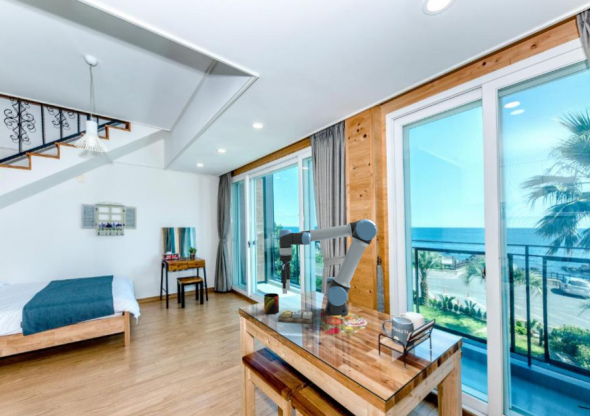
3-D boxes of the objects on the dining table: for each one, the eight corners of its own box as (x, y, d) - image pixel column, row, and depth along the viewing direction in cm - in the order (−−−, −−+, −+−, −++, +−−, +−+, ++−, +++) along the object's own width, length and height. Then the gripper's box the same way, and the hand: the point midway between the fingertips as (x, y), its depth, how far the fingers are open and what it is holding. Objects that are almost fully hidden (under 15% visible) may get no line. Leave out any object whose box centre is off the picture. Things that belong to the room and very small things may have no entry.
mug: (273, 308, 183) (273, 290, 184) (281, 314, 171) (281, 296, 171) (260, 310, 179) (260, 292, 179) (267, 317, 167) (266, 298, 167)
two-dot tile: (301, 317, 163) (301, 311, 163) (300, 320, 158) (300, 313, 158) (293, 316, 164) (293, 310, 164) (292, 319, 159) (292, 313, 159)
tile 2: (312, 317, 162) (312, 311, 162) (311, 320, 157) (310, 314, 157) (304, 317, 163) (304, 311, 163) (302, 320, 158) (302, 314, 158)
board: (314, 317, 166) (314, 312, 166) (311, 326, 152) (311, 321, 152) (284, 315, 170) (283, 311, 170) (278, 323, 156) (278, 319, 156)
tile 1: (291, 316, 164) (291, 310, 164) (289, 319, 159) (289, 313, 159) (283, 316, 165) (283, 310, 165) (281, 319, 160) (281, 312, 160)
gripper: (283, 252, 174) (284, 287, 173) (275, 256, 155) (276, 296, 154) (294, 252, 173) (295, 287, 172) (287, 256, 153) (288, 296, 152)
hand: (286, 291), depth 163 cm, fingers open, 7 cm apart
